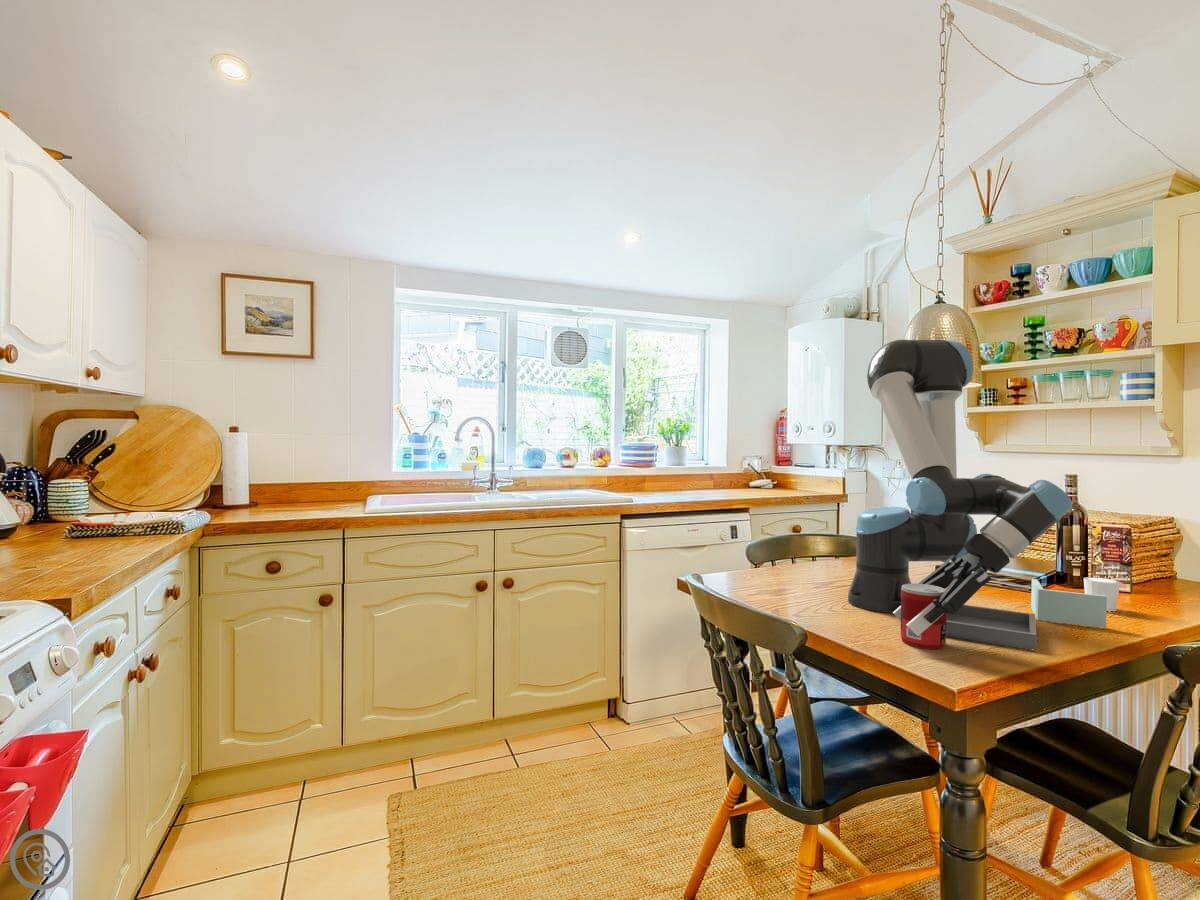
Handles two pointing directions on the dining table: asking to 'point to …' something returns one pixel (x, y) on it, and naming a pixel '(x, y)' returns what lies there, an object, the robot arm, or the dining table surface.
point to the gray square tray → (993, 626)
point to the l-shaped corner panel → (1068, 606)
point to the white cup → (1103, 590)
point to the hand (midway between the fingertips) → (904, 623)
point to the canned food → (911, 606)
